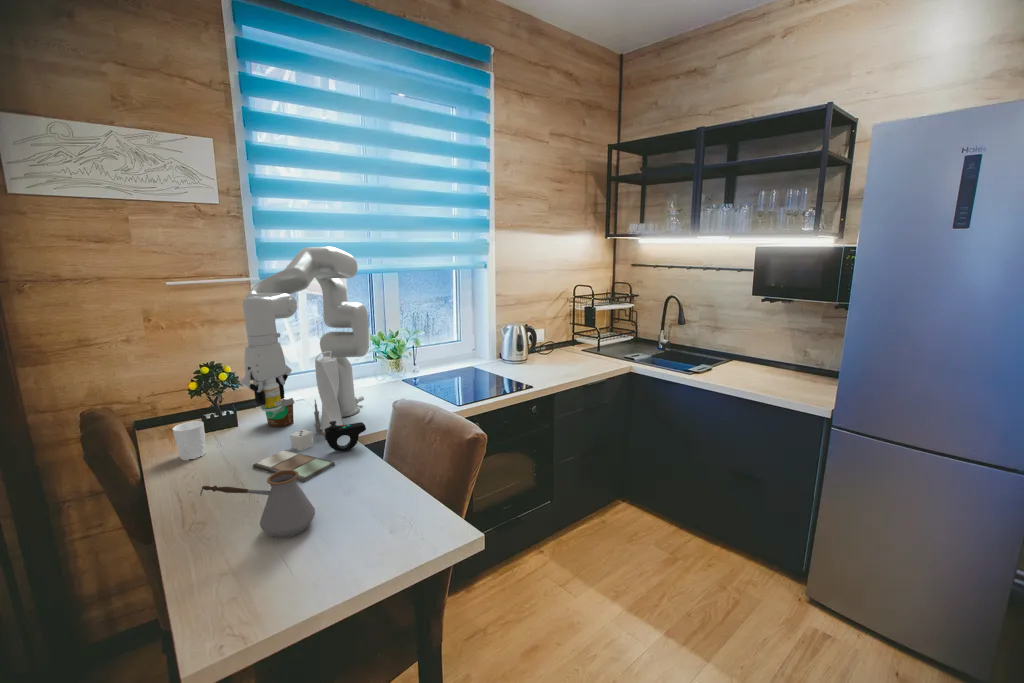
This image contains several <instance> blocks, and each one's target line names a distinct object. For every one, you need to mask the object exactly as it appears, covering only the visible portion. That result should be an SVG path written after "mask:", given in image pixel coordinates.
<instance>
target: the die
mask: <svg viewBox="0 0 1024 683" xmlns="http://www.w3.org/2000/svg"><path fill="white" fill-rule="evenodd" d="M289 437H290V442H291V448H292V449H293V450H298V451H303V450H305V449H308V448H310V447H312V446H314V440H313V432H312V431H309V430H304V429H301V430H299V431H296V432H293V433H291V434H290V436H289Z"/></svg>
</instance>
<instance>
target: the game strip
mask: <svg viewBox="0 0 1024 683" xmlns="http://www.w3.org/2000/svg"><path fill="white" fill-rule="evenodd" d="M334 465H336V463H335V461H331V460H327V459H323V458H319V457H316V456H311V455H307V454H304V453H300V452H296V451H292V450H288V449H283V450H281V451H279V452H277V453H275V454H273V455H271V456H268V457H266V458H263V459H262V460H259V461H258V462H256V463H254V464H252V468H253V469H257V470H260V471H263V470H264V471H263V472H266V471H267V473H271V474H273V473H276V472H279V471H282V470H294V471H297V472H298V477H297V479H296V481H297V480H298V481H297V482H301V481H302V482H301V483H305V482H307V481H308V480H311V479H313V478H314V476H315V477H316V476H318V475H320V474H322V473H324V472H325V471H327V470H329V469H331V468H332V466H333V467H334ZM330 467H331V468H330ZM328 468H329V469H328ZM323 471H324V472H323ZM321 472H322V473H321ZM312 477H313V478H312ZM310 478H311V479H310ZM306 480H307V481H306Z"/></svg>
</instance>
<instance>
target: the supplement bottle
mask: <svg viewBox="0 0 1024 683" xmlns="http://www.w3.org/2000/svg"><path fill="white" fill-rule="evenodd" d="M275 381H276V378H271V379H269V380H266V381H263V386H262V391H264V395H265V402H266V404H265V405H260V407H261V408H260V409H261V410H262V411H263V412H265V411H275V410H278V409H280V408H281V407H282V404H281V396H280V389H279V384H278V383H277V382H275Z"/></svg>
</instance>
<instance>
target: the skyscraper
mask: <svg viewBox="0 0 1024 683" xmlns="http://www.w3.org/2000/svg"><path fill="white" fill-rule="evenodd" d="M327 352H330V356H329V357H323V356H322V357H320V356H321V355H322V354H324V353H327ZM331 353H332V352H331V351H325V352H321V353H319V354H318V355H317V356H316V358H315V359H314V363H315V364H314V365H315V379H316V386H317V390H318V394H319V398H320V401H321V420H320V411H319V410H318V404H317V399H314V412H313V413H314V414H313V415H314V421H315V422H314V426H315V436H324V435H326V433H325V431H324V430H325V429H326V428H329V427H330V426H331V424H329V423H330V422H331V421H336V422H337V423H336V424H335V425H337V426H339V425H344V424H343V417H341V413H340V408H339V404H338V400H337V396H338V388H339V375H338V367H337V360H336V358H331ZM319 357H320V359H318V358H319ZM321 425H322V426H321Z"/></svg>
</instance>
